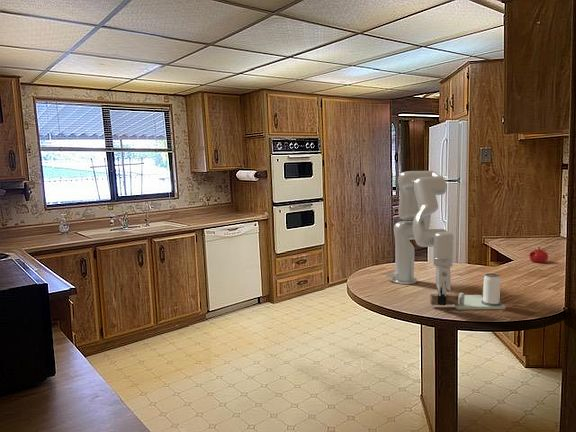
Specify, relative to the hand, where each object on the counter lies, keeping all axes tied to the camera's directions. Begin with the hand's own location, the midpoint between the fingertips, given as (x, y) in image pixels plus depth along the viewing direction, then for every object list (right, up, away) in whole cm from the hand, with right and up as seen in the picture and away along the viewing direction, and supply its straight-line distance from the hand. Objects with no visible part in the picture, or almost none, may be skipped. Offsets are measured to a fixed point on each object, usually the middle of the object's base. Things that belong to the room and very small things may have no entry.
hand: (441, 304), depth 183 cm
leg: (+2, 0, +4) cm, 4 cm away
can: (+23, 0, +4) cm, 23 cm away
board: (+17, -1, +8) cm, 19 cm away
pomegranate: (+87, +9, +80) cm, 118 cm away
